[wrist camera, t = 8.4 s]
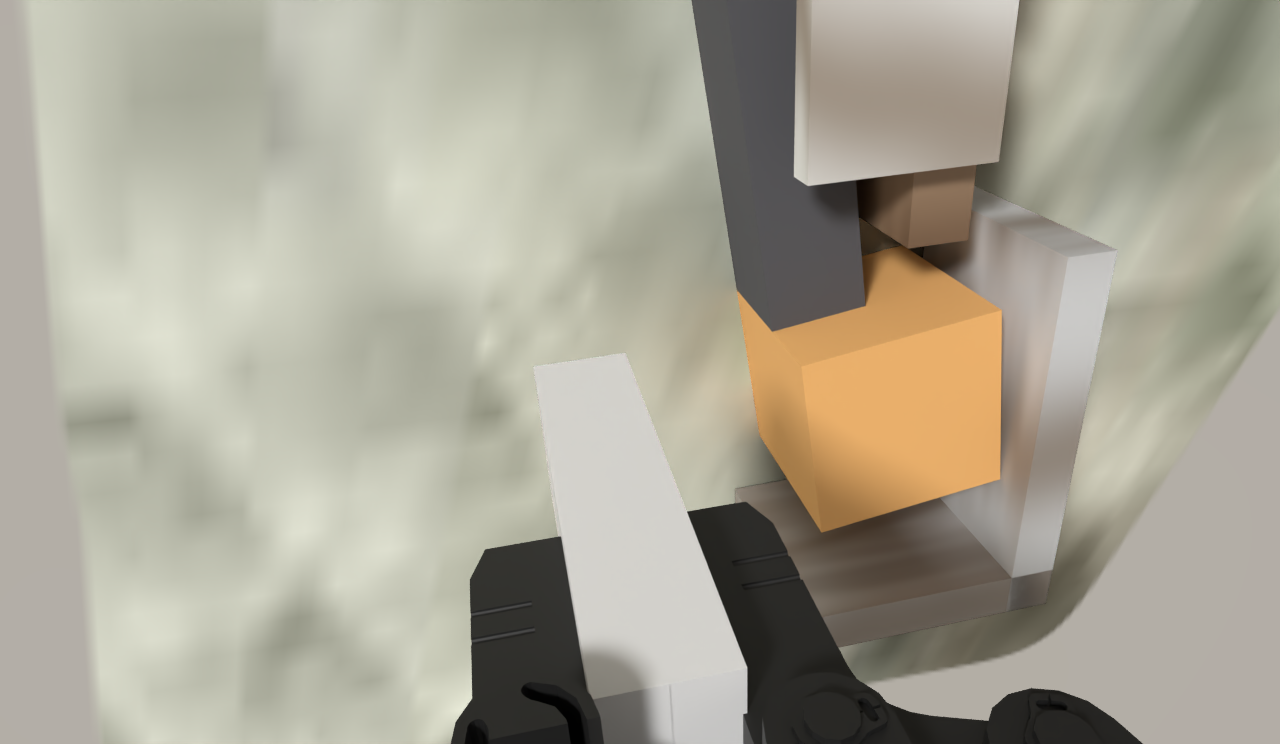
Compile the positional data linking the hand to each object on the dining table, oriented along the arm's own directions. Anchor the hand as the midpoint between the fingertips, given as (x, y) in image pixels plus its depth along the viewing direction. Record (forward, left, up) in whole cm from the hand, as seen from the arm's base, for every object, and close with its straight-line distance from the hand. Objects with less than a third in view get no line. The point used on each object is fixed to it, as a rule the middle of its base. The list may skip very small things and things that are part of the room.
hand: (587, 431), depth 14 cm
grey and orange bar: (-3, +7, -9) cm, 12 cm away
